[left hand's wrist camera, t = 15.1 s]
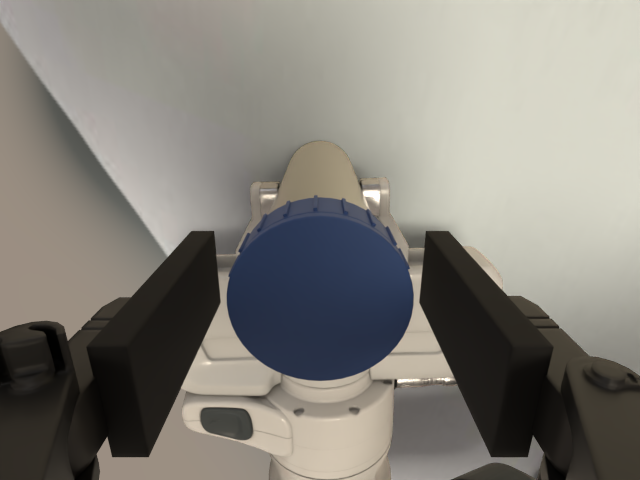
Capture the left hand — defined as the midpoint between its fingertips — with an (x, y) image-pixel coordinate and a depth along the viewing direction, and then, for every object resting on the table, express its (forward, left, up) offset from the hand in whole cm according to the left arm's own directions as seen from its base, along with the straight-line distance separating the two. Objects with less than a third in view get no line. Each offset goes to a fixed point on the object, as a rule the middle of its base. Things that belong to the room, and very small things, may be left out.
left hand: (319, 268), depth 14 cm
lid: (0, 0, +3) cm, 3 cm away
